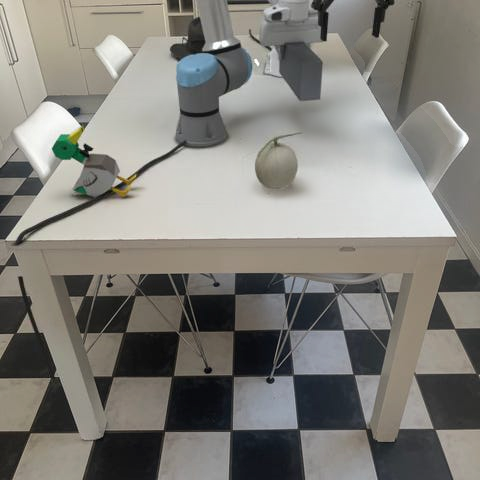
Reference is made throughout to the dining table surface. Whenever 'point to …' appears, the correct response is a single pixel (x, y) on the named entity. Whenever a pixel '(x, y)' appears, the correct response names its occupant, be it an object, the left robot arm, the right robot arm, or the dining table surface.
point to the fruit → (276, 164)
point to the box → (301, 70)
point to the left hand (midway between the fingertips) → (349, 38)
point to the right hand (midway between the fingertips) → (291, 58)
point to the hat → (190, 41)
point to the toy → (89, 166)
